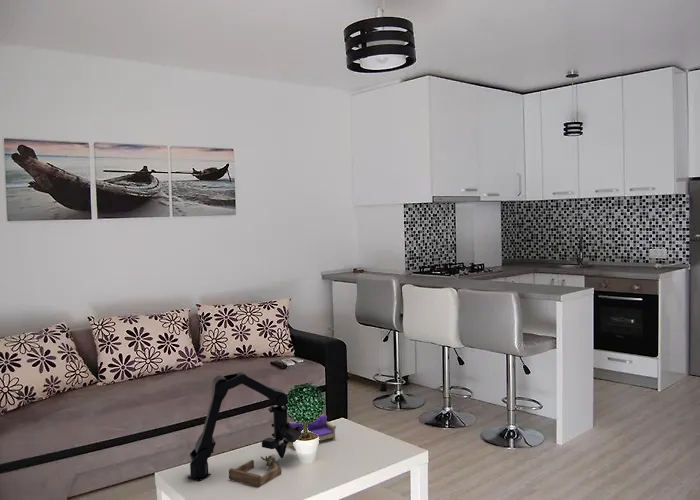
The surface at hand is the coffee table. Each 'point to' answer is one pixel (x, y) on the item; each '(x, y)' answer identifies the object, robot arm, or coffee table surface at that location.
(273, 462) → the eagle figurine
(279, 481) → the coffee table surface
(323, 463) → the coffee table surface
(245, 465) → the walnut bay
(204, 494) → the coffee table surface
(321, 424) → the toy sofa
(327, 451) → the coffee table surface
